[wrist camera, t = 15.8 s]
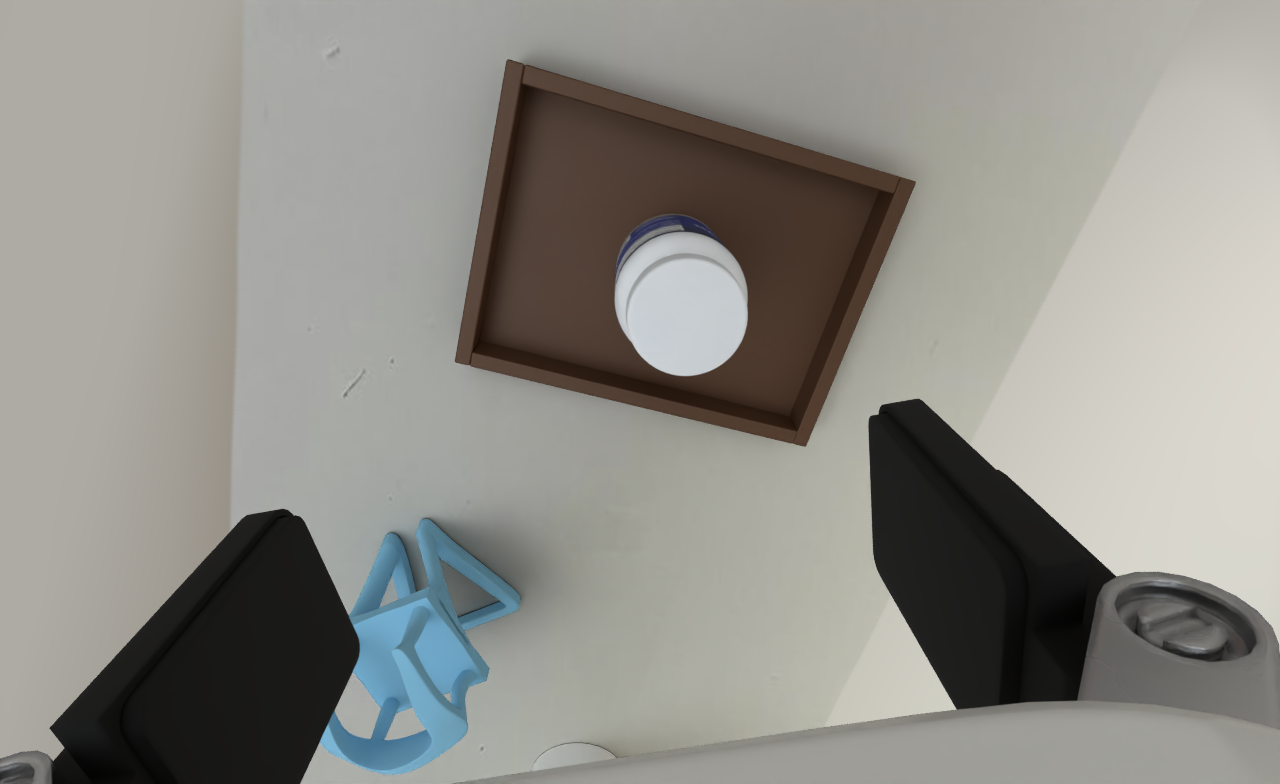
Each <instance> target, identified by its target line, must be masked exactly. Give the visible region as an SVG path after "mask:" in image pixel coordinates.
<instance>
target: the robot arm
mask: <svg viewBox="0 0 1280 784" xmlns="http://www.w3.org/2000/svg"><path fill="white" fill-rule="evenodd" d="M869 452H870V479H871V507H872V534H873V554H874V560H875V564H876V567H877V570H878V572H879V574H880V576H881V578H882V580H883V582H884V583H885V585H886V587H887V589H888V590H889V592H890V594H891V596H892V597H893V599H894V601H895V603H896V604H897V606H898V608H899V610H900V611H901V613H902V615H903V617H904V618H905V620H906V622H907V624H908V625H909V627H910V629H911V630H912V632H913V634H914V636H915V637H916V639H917V641H918V643H919V645H920V646H921V648H922V650H923V652H924V653H925V655H926V657H927V658H928V660H929V662H930V664H931V665H932V667H933V669H934V671H935V672H936V674H937V676H938V678H939V679H940V681H941V683H942V685H943V686H944V688H945V690H946V692H947V693H948V695H949V697H950V698H951V700H952V702H953V704H954V705H955V707H956V709H957V710H951V711H942V712H934V713H925V714H917V715H909V716H902V717H895V718H888V719H882V720H875V721H868V722H861V723H853V724H845V725H838V726H830V727H823V728H816V729H809V730H803V731H796V732H789V733H782V734H776V735H769V736H762V737H756V738H749V739H742V740H736V741H729V742H722V743H715V744H709V745H702V746H695V747H689V748H682V749H675V750H669V751H662V752H655V753H648V754H642V755H635V756H628V757H622V758H615V759H609V760H602V761H596V762H589V763H583V764H576V765H570V766H563V767H557V768H550V769H544V770H537V771H531V772H524V773H518V774H511V775H505V776H498V777H492V778H486V779H479V780H473V781H466V782H460V783H454V784H1280V652H1279V643H1278V641H1277V638H1276V635H1275V633H1274V630H1273V628H1272V627H1271V625H1270V624H1269V623H1268V622H1267V621H1266V620H1265V619H1264V618H1263V617H1262V615H1261V614H1260V613H1259V612H1258V611H1257V610H1255V609H1254V608H1252V607H1251V606H1250V605H1248V604H1247V603H1245V602H1244V601H1242V600H1241V599H1240V598H1238V597H1237V596H1235V595H1233V594H1231V593H1229V592H1226V591H1224V590H1222V589H1220V588H1218V587H1216V586H1214V585H1212V584H1209V583H1206V582H1202V581H1199V580H1196V579H1193V578H1189V577H1186V576H1181V575H1175V574H1169V573H1162V572H1134V573H1130V574H1126V575H1122V576H1117V577H1116V576H1115V575H1114V574H1113V573H1112V572H1111V571H1110V570H1109V569H1108V568H1106V567H1105V566H1104V565H1103V564H1102V563H1101V562H1100V561H1099V560H1098V559H1097V558H1096V557H1095V556H1094V555H1092V554H1091V553H1090V552H1089V551H1088V550H1087V549H1086V548H1085V547H1084V546H1083V545H1082V544H1080V543H1079V542H1078V541H1077V540H1076V539H1075V538H1074V537H1073V536H1072V535H1071V534H1069V532H1067V530H1065V529H1064V528H1063V527H1062V526H1061V525H1060V524H1059V523H1058V522H1057V521H1056V520H1055V519H1054V518H1052V517H1051V516H1050V515H1049V514H1048V513H1047V512H1046V511H1045V510H1044V509H1043V508H1042V507H1041V506H1039V505H1038V504H1037V503H1036V502H1035V501H1034V500H1033V499H1032V498H1031V497H1030V496H1029V495H1027V494H1026V493H1025V492H1024V491H1023V490H1022V489H1021V488H1020V487H1019V486H1018V485H1017V484H1016V483H1014V482H1013V481H1012V480H1011V479H1010V478H1009V477H1008V476H1007V475H1006V474H1004V473H1003V472H1001V471H1000V470H996V469H995V468H994V467H993V466H992V465H990V464H989V463H988V462H987V461H986V460H985V459H984V458H983V457H982V456H981V455H980V454H979V453H978V452H977V451H976V450H974V449H973V448H972V447H971V446H970V445H969V444H968V443H967V442H966V441H965V440H964V439H963V438H962V437H961V436H959V435H958V434H957V433H956V432H955V431H954V430H953V429H952V428H951V427H950V426H949V425H948V424H947V423H946V422H945V421H943V420H942V419H941V418H940V417H939V416H938V415H937V414H936V413H935V412H934V411H933V410H932V409H931V408H930V407H928V406H927V405H926V404H925V403H924V402H923V401H922V400H920V399H913V400H907V401H901V402H895V403H890V404H884V405H882V406H881V407H880V410H879V415H873V416H871V417H870V418H869ZM359 654H360V642H359V638H358V635H357V633H356V631H355V629H354V627H353V624H352V622H351V620H350V618H349V616H348V614H347V612H346V609H345V607H344V605H343V603H342V601H341V599H340V597H339V594H338V592H337V590H336V588H335V586H334V584H333V582H332V579H331V577H330V575H329V573H328V571H327V569H326V567H325V564H324V562H323V560H322V558H321V556H320V554H319V552H318V550H317V547H316V545H315V543H314V541H313V539H312V537H311V535H310V532H309V530H308V528H307V526H306V524H305V522H304V521H303V519H302V518H301V517H299V516H296V515H295V516H293V514H292V513H291V512H290V511H288V510H285V509H279V510H274V511H268V512H262V513H256V514H251V515H247V516H245V517H244V518H243V519H241V521H240V522H239V523H238V524H237V525H236V526H235V527H234V528H233V529H232V530H231V531H230V533H229V534H228V535H227V536H226V537H225V538H224V539H223V540H222V541H221V542H220V543H219V544H218V546H217V547H216V548H215V549H214V550H213V551H212V552H211V553H210V554H209V555H208V556H207V558H206V559H205V560H204V561H203V562H202V563H201V564H200V565H199V566H198V567H197V568H196V570H195V571H194V572H193V573H192V574H191V575H190V576H189V577H188V578H187V579H186V580H185V582H184V583H183V584H182V585H181V586H180V587H179V588H178V589H177V590H176V591H175V592H174V593H173V594H172V596H171V597H170V598H169V599H168V600H167V601H166V602H165V603H164V604H163V605H162V606H161V607H160V609H159V610H158V611H157V612H156V613H155V614H154V615H153V616H152V617H151V618H150V619H149V621H148V622H147V623H146V624H145V625H144V626H143V627H142V628H141V629H140V630H139V631H138V632H137V634H136V635H135V636H134V637H133V638H132V639H131V640H130V641H129V642H128V643H127V645H126V646H125V647H124V648H123V649H122V650H121V651H120V652H119V653H118V654H117V655H116V656H115V658H114V659H113V660H112V661H111V662H110V663H109V664H108V665H107V666H106V667H105V668H104V669H103V670H102V672H101V673H100V674H99V675H98V676H97V677H96V678H95V679H94V680H93V682H91V684H90V685H89V686H88V687H87V688H86V689H85V690H84V691H83V692H82V693H81V694H80V695H79V697H78V698H77V699H76V700H75V701H74V702H73V703H72V704H71V705H70V706H69V708H68V709H67V710H66V711H65V712H64V713H63V714H62V715H61V716H60V717H59V718H58V719H57V721H56V722H55V723H54V724H53V725H52V726H51V727H50V729H51V731H52V732H53V733H54V734H55V736H56V737H57V738H58V740H59V741H60V742H61V743H62V745H63V746H64V747H65V748H64V749H63V751H62V752H61V753H60V754H59V755H58V757H57V758H56V759H55V760H54V761H52V759H51V758H50V757H49V756H48V755H47V754H45V753H42V752H39V751H28V752H20V753H17V754H13V755H10V756H7V757H4V758H1V759H0V784H300V783H301V780H302V778H303V776H304V774H305V772H306V770H307V768H308V766H309V763H310V761H311V759H312V757H313V755H314V753H315V751H316V749H317V746H318V744H319V742H320V740H321V738H322V736H323V734H324V732H325V729H326V727H327V725H328V723H329V721H330V719H331V717H332V715H333V712H334V710H335V708H336V706H337V704H338V702H339V700H340V698H341V695H342V693H343V691H344V689H345V687H346V685H347V683H348V681H349V678H350V676H351V674H352V672H353V670H354V668H355V666H356V664H357V661H358V658H359Z"/></svg>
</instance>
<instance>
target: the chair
mask: <svg viewBox="0 0 1280 784" xmlns="http://www.w3.org/2000/svg"><path fill="white" fill-rule="evenodd" d="M416 535H417V540H418V544H419V547H420V551H421V554H422V558H423V562H424V565H425V570H426V574H427V580H428V588H425V589H423V590H420V591H417V592H416V589H415V585H414V581H413V576H412V572H411V569H410V565H409V561H408V557H407V555H406V552H405V549H404V546H403V544H402V542H401V540H400V539H399V537H398V536H397V535H395V534H393V533H388V534H387V535H385V538H384V540H383V543H382V545H381V548H380V551H379V553H378V555H377V558H376V560H375V562H374V565H373V567H372V569H371V572H370V574H369V576H368V578H367V581H366V583H365V585H364V587H363V590H362V592H361V594H360V596H359V598H358V600H357V602H356V604H355V606H354V608H353V610H352V612H351V614H350V616H349V618H350V620H351V622H352V624H353V627H354V629H355V631H356V633H357V635H358V638H359V642H360V654H359V658H358V661H357V664H356V666H355V668H354V670H353V673H354V674H355V675H356V676H357V678H358V679H359V680H360V681H361V682H362V684H363V685H364V686H365V688H366V689H367V690H368V692H369V693H370V695H371V696H372V697H373V699H374V700H375V702H376V703H377V704H378V705H379V706H380V708H381V710H380V713H379V716H378V719H377V722H376V725H375V728H374V731H373V734H372V737H371V739H365V738H360V737H357V736H354V735H352V734H350V733H349V732H348V731H346V730H345V729H344V728H343V726H342V725H341V723H340V722H339V720H338V718H337V716H336V714H335V711H334V712H333V715H332V717H331V719H330V721H329V723H328V725H327V727H326V729H325V732H324V734H323V736H322V738H321V740H320V743H321V745H322V746H323V747H324V748H325V749H326V750H327V751H328V752H329V753H331V754H333V755H335V756H337V757H339V758H341V759H344V760H346V761H348V762H350V763H352V764H355V765H357V766H359V767H362V768H364V769H367V770H370V771H373V772H376V773H381V774H391V775H394V774H402V773H406V772H410V771H413V770H415V769H417V768H420V767H421V766H423V765H425V764H427V763H429V762H430V761H432V760H433V759H435V758H436V757H438V756H440V755H441V754H442V753H444V752H445V751H447V750H448V749H449V748H451V747H452V746H453V745H455V744H456V743H457V742H458V741H460V740H461V739H462V738H463V737H464V736H465V734H466V733H467V730H468V723H467V716H466V706H465V696H466V692H467V690H468V688H469V687H470V686H473V685H476V684H478V683H481V682H484V681H487V677H488V673H489V669H490V668H489V667H488V666H487V664H486V663H485V661H484V660H483V659H482V657H481V656H480V654H479V653H478V652H477V651H476V649H475V648H474V647H473V646H472V645H471V643H470V641H469V639H468V637H467V635H466V634H465V632H464V631H465V630H467V629H470V628H473V627H475V626H478V625H481V624H483V623H486V622H488V621H491V620H494V619H496V618H499V617H502V616H504V615H507V614H509V613H512V612H515V611H517V610H518V609H519V605H520V600H521V598H520V596H519V594H518V593H517V592H516V591H515V590H514V589H513V588H512V587H511V586H510V585H508V584H507V583H506V582H505V581H503V580H502V579H501V578H500V577H498V576H497V575H496V574H495V573H493V572H492V571H491V570H489V569H488V568H487V567H486V566H484V565H483V564H482V563H480V562H479V561H478V560H477V559H475V558H474V557H473V556H471V555H470V554H469V553H468V552H466V551H465V550H464V549H463V548H461V547H460V546H459V545H458V544H456V543H455V542H454V541H453V540H451V539H450V538H449V537H448V536H447V535H446V534H445V533H444V532H442V531H441V530H440V529H439V528H438V527H437V526H436V525H435V524H434V523H433V522H432V521H430V520H429V519H423V520H421V521H420V523H419V526H418V529H417V532H416ZM439 557H440V558H441V559H442V560H444V561H445V562H446V563H448V564H449V565H450V566H452V567H453V568H455V569H456V570H457V571H459V572H460V573H462V574H463V575H464V576H466V577H467V578H469V579H470V580H471V581H473V582H474V583H476V584H477V585H479V586H480V587H481V588H483V589H484V590H486V591H487V592H488V593H490V594H491V595H493V596H494V597H495V598H497V599H498V600H500V602H498V603H495V604H493V605H490V606H487V607H485V608H482V609H480V610H477V611H474V612H472V613H469V614H467V615H464V616H461V617H459V618H458V617H457V615H456V613H455V610H454V607H453V604H452V601H451V598H450V595H449V592H448V589H447V585H446V582H445V578H444V575H443V571H442V567H441V564H440V560H439ZM391 576H392V577H393V580H394V583H395V587H396V590H397V593H398V597H399V600H397V601H395V602H393V603H390V604H388V605H386V606H383V607H381V608H379V607H380V604H381V601H382V598H383V596H384V593H385V591H386V588H387V585H388V583H389V580H390V578H391ZM450 692H451V702H452V703H450V702H449V701H448V700H447V699H446V698H445V697H444V696H443V695H444V694H447V693H450ZM411 707H413V709H414V711H415V713H416V716H417V717H418V719H419V720H420V722H421V723H422V725H423V726H424V727H425V729H426V730H424V731H422V732H419V733H417V734H414V735H411V736H408V737H405V738H400V739H395V740H384V739H385V737H386V735H387V732H388V730H389V728H390V726H391V723H392V721H393V719H394V717H395V715H396V713H398V712H401V711H404V710H407V709H409V708H411Z"/></svg>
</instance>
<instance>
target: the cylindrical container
mask: <svg viewBox="0 0 1280 784" xmlns="http://www.w3.org/2000/svg"><path fill="white" fill-rule="evenodd" d="M615 758H616V757H615V756H614V755H613V754H611V753H610V752H609V751H607V750H605V749H603V748H601V747H598V746H595V745H591V744H584V743H570V744H563V745H560V746H556V747H554V748H551V749H549V750H547V751H546V752H544V753H543V754H542V755H540V756H539V758H538V759H537V760H536V761H535V763H534V765H533V767H532V771H537V770H544V769H550V768H557V767H563V766H570V765H576V764H583V763H589V762H596V761H602V760H609V759H615Z"/></svg>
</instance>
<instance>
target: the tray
mask: <svg viewBox="0 0 1280 784" xmlns="http://www.w3.org/2000/svg"><path fill="white" fill-rule="evenodd" d="M915 183H916V182H915V181H912V180H909V179H905V178H902V177H899V176H895V175H892V174H889V173H885V172H882V171H879V170H875V169H872V168H869V167H865V166H862V165H859V164H855V163H852V162H849V161H845V160H842V159H839V158H835V157H832V156H829V155H825V154H822V153H819V152H815V151H812V150H809V149H805V148H802V147H799V146H795V145H792V144H789V143H785V142H782V141H779V140H775V139H772V138H769V137H765V136H762V135H759V134H755V133H752V132H749V131H745V130H742V129H739V128H735V127H732V126H729V125H726V124H722V123H719V122H716V121H712V120H709V119H706V118H702V117H699V116H696V115H692V114H689V113H686V112H682V111H679V110H676V109H672V108H669V107H666V106H662V105H659V104H656V103H652V102H649V101H646V100H642V99H639V98H636V97H632V96H629V95H626V94H622V93H619V92H616V91H612V90H609V89H606V88H602V87H599V86H596V85H592V84H589V83H586V82H582V81H579V80H576V79H572V78H569V77H566V76H562V75H559V74H556V73H552V72H549V71H546V70H542V69H539V68H536V67H533V66H529V65H524V64H523V63H519V62H516V61H513V60H507V61H506V67H505V73H504V79H503V84H502V90H501V96H500V102H499V108H498V113H497V119H496V125H495V131H494V137H493V142H492V148H491V154H490V160H489V166H488V172H487V177H486V183H485V189H484V195H483V201H482V206H481V212H480V218H479V224H478V230H477V235H476V241H475V247H474V253H473V259H472V265H471V270H470V276H469V282H468V288H467V294H466V299H465V305H464V311H463V317H462V323H461V328H460V334H459V340H458V346H457V352H456V358H455V362H456V363H461V364H465V365H470V366H472V367H476V368H480V369H484V370H488V371H493V372H497V373H501V374H505V375H509V376H513V377H518V378H522V379H526V380H530V381H534V382H538V383H543V384H547V385H551V386H555V387H559V388H563V389H567V390H572V391H576V392H580V393H584V394H588V395H592V396H597V397H601V398H605V399H609V400H613V401H617V402H621V403H626V404H630V405H634V406H638V407H642V408H646V409H651V410H655V411H659V412H663V413H667V414H671V415H676V416H680V417H684V418H688V419H692V420H696V421H700V422H705V423H709V424H713V425H717V426H721V427H725V428H730V429H734V430H738V431H742V432H746V433H750V434H754V435H759V436H763V437H767V438H771V439H775V440H779V441H784V442H788V443H793V444H796V445H800V446H805V447H806V445H807V442H808V440H809V438H810V435H811V433H812V430H813V428H814V426H815V423H816V421H817V418H818V416H819V414H820V411H821V409H822V407H823V404H824V402H825V399H826V397H827V395H828V392H829V390H830V387H831V385H832V383H833V380H834V378H835V375H836V373H837V371H838V368H839V366H840V363H841V361H842V359H843V356H844V354H845V351H846V349H847V347H848V344H849V342H850V339H851V337H852V335H853V332H854V330H855V327H856V325H857V323H858V320H859V318H860V315H861V313H862V311H863V308H864V306H865V303H866V301H867V299H868V296H869V294H870V291H871V289H872V287H873V284H874V282H875V279H876V277H877V275H878V272H879V270H880V267H881V265H882V263H883V260H884V258H885V255H886V253H887V251H888V248H889V246H890V243H891V241H892V239H893V236H894V234H895V231H896V229H897V227H898V224H899V222H900V219H901V217H902V215H903V212H904V210H905V207H906V205H907V203H908V200H909V198H910V195H911V193H912V191H913V188H914V186H915ZM664 214H681V215H686V216H690V217H693V218H695V219H697V220H699V221H700V222H702V223H703V224H705V225H706V226H707V227H708V228H709V229H711V230H712V232H713V233H714V234H715V235H716V236H717V237H718V239H719V240H720V241H721V242H722V243H723V244H724V246H725V247H726V248H727V249H728V250H729V251H730V252H731V254H732V255H733V256H734V257H735V259H736V260H737V262H738V264H739V265H740V267H741V270H742V272H743V274H744V277H745V281H746V285H747V293H748V302H747V309H748V320H747V327H746V331H745V334H744V337H743V339H742V341H741V343H740V345H739V347H738V348H737V350H736V351H735V352H734V354H733V355H732V356H731V357H730V358H729V359H728V360H727V361H726V362H724V363H723V364H722V365H720V366H719V367H717V368H715V369H713V370H711V371H709V372H706V373H703V374H699V375H693V376H678V375H673V374H669V373H665V372H663V371H660V370H658V369H656V368H655V367H653V366H652V365H650V364H649V363H648V362H646V361H645V360H644V359H643V358H642V357H641V356H640V354H639V353H638V352H637V350H636V349H635V347H634V345H633V344H632V342H631V341H630V340H629V339H628V337H627V336H626V334H625V333H624V331H623V329H622V327H621V325H620V323H619V320H618V317H617V314H616V309H615V300H614V298H615V278H616V264H617V258H618V255H619V251H620V249H621V247H622V245H623V243H624V241H625V239H626V238H627V237H628V235H629V234H630V233H631V232H632V231H633V230H634V229H635V228H636V227H637V226H638V225H640V224H641V223H643V222H644V221H646V220H648V219H650V218H653V217H655V216H659V215H664Z"/></svg>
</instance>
